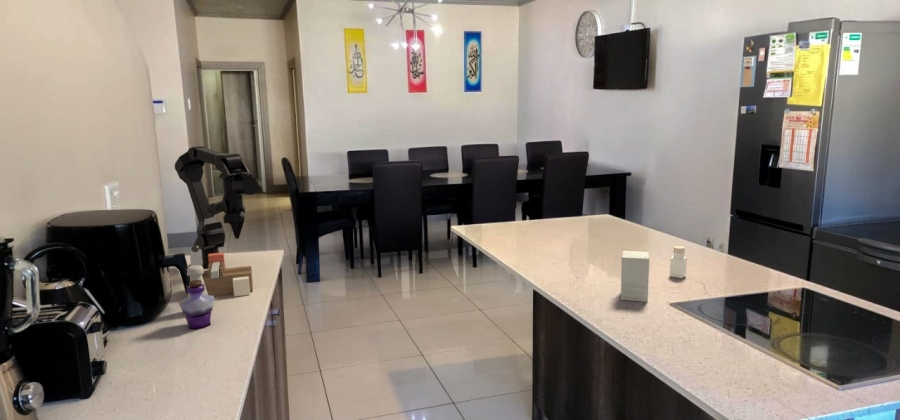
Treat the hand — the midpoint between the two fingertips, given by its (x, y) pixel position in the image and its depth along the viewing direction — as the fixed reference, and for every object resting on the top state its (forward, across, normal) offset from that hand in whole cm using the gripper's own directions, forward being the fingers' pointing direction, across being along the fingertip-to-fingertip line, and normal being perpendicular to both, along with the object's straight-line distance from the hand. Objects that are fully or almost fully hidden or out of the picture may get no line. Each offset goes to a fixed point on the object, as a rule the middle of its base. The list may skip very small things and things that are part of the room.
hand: (237, 238), depth 193 cm
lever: (+5, +21, -11) cm, 24 cm away
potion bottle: (+12, +45, -9) cm, 47 cm away
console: (+12, +18, -5) cm, 22 cm away
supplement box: (+12, +68, +107) cm, 127 cm away
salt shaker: (+12, +34, -10) cm, 37 cm away
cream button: (+12, +24, +1) cm, 26 cm away
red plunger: (+7, +18, -6) cm, 20 cm away
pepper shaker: (+12, +57, +131) cm, 143 cm away
